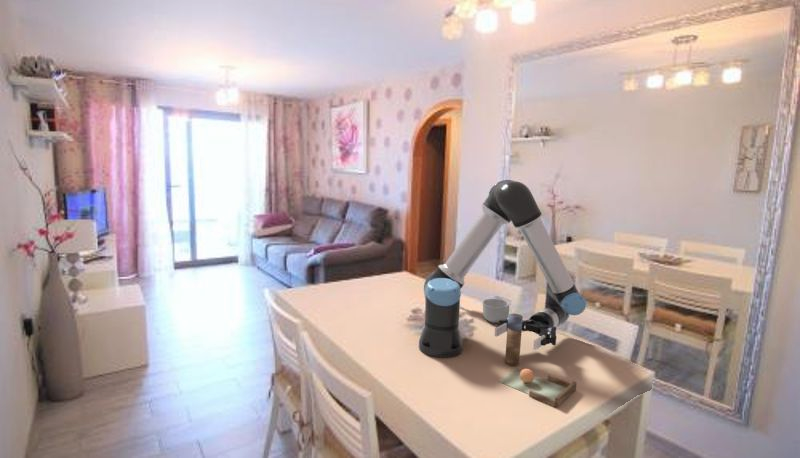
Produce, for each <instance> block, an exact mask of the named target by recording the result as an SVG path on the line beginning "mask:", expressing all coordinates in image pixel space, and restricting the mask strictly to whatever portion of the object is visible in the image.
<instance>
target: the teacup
mask: <svg viewBox="0 0 800 458" xmlns="http://www.w3.org/2000/svg"><path fill="white" fill-rule="evenodd" d="M509 314H510V302H509V301H508V300H506V299H503V298H494V297H490V298H488V299H487V298H486V299H484V300H482V315H483V317H484V319H485V320H487V322H489V323H493V324H499V320H505V319H508V315H509Z"/></svg>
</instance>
